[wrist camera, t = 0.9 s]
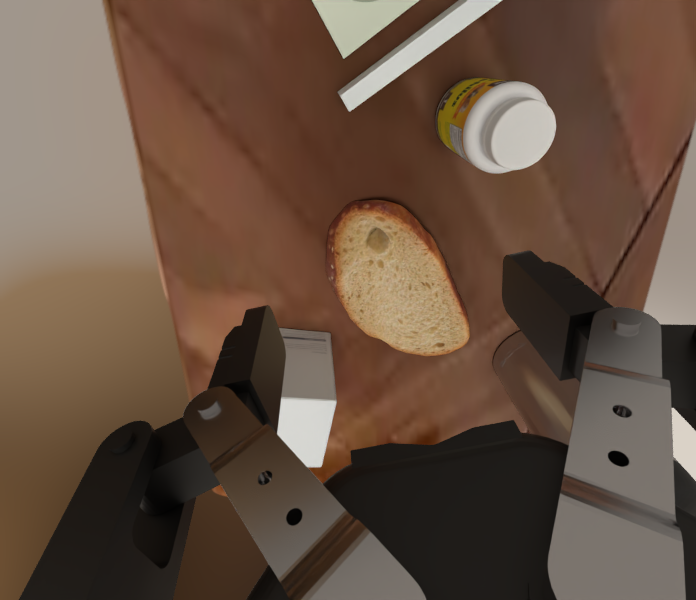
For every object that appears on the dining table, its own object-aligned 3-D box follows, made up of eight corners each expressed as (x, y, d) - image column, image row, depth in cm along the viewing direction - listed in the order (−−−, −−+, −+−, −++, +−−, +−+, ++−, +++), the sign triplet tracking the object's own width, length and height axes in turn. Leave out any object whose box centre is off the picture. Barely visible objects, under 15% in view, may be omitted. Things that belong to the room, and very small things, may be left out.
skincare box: (321, 394, 48) (322, 470, 39) (270, 391, 46) (260, 468, 38) (333, 331, 42) (338, 403, 33) (277, 326, 41) (266, 398, 32)
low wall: (536, -36, 26) (570, -50, 22) (345, 106, 29) (349, 111, 26) (532, -56, 25) (565, -74, 22) (337, 91, 29) (340, 95, 25)
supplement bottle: (493, 64, 29) (569, 65, 20) (503, 135, 32) (573, 163, 23) (425, 94, 29) (470, 107, 21) (441, 161, 32) (486, 196, 24)
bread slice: (459, 350, 46) (469, 371, 42) (314, 342, 43) (315, 364, 40) (513, 211, 36) (532, 226, 33) (332, 191, 33) (334, 204, 30)
